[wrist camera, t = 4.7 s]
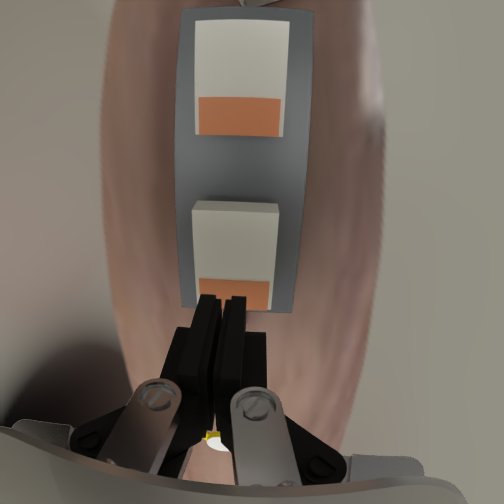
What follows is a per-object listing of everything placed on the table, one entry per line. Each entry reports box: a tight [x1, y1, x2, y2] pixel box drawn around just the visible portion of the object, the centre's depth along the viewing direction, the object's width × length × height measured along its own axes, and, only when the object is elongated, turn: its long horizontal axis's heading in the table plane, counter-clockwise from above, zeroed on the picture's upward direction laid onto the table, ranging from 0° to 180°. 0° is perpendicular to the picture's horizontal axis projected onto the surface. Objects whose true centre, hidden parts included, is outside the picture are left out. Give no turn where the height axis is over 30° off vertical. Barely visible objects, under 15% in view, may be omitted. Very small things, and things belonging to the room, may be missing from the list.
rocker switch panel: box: [175, 6, 314, 313], centre depth 18 cm, size 22×7×5 cm, turn 178°
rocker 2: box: [192, 200, 279, 311], centre depth 16 cm, size 6×4×2 cm
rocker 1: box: [195, 19, 290, 137], centre depth 12 cm, size 6×4×2 cm
